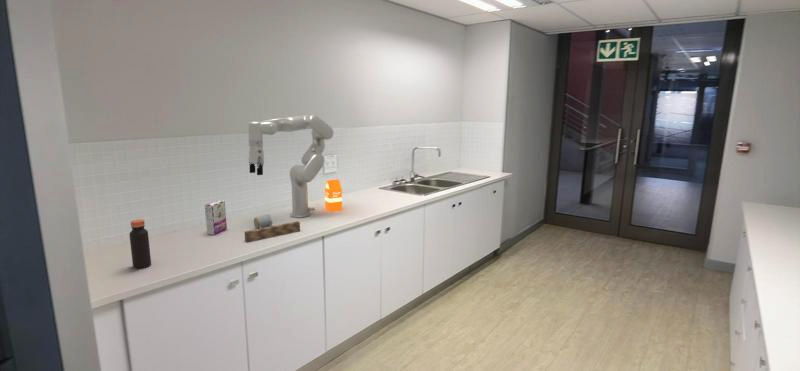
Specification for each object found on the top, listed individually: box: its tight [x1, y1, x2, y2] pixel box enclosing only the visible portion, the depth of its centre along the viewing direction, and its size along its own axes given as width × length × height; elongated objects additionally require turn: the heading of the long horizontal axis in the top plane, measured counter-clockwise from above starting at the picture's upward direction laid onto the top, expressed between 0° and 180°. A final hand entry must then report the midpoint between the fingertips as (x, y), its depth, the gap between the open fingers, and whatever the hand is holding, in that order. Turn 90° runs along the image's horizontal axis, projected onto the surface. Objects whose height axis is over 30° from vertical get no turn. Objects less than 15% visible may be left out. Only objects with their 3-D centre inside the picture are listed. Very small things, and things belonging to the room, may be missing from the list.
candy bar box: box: [204, 200, 228, 236], centre depth 233 cm, size 11×5×16 cm, turn 168°
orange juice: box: [324, 178, 343, 212], centre depth 283 cm, size 8×9×20 cm
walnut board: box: [243, 220, 301, 243], centre depth 228 cm, size 30×2×5 cm, turn 132°
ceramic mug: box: [253, 213, 273, 229], centre depth 240 cm, size 11×8×8 cm
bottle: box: [129, 219, 152, 270], centre depth 183 cm, size 7×7×20 cm
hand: (256, 173), depth 245 cm, fingers open, 9 cm apart
